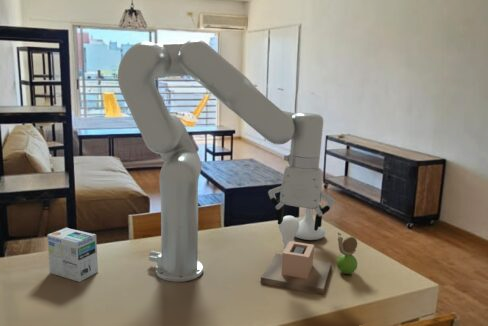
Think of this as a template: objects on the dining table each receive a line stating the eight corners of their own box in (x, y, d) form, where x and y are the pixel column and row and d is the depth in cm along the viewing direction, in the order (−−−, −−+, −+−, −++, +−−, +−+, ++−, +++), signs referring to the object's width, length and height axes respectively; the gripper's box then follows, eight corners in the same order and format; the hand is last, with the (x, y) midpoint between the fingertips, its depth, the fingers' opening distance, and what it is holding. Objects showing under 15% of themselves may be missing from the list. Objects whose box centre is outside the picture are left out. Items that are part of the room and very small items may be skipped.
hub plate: (260, 282, 112) (261, 257, 111) (275, 258, 127) (276, 235, 126) (322, 294, 108) (325, 268, 106) (330, 267, 123) (332, 244, 121)
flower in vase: (331, 237, 145) (337, 163, 140) (311, 246, 137) (317, 168, 132) (299, 226, 154) (304, 157, 149) (279, 234, 146) (283, 161, 141)
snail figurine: (329, 270, 121) (332, 229, 118) (348, 267, 123) (352, 226, 121) (341, 279, 116) (344, 236, 113) (360, 275, 118) (364, 233, 116)
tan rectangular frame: (281, 274, 114) (282, 252, 113) (288, 261, 122) (289, 241, 121) (307, 278, 112) (308, 257, 111) (312, 265, 120) (314, 244, 119)
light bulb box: (98, 272, 115) (97, 233, 113) (79, 283, 109) (77, 242, 107) (68, 263, 119) (66, 226, 117) (48, 273, 113) (46, 234, 111)
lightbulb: (298, 254, 130) (300, 219, 128) (278, 254, 130) (279, 219, 128) (296, 246, 136) (298, 213, 134) (276, 245, 136) (278, 212, 134)
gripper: (267, 160, 110) (262, 224, 114) (337, 169, 105) (329, 236, 109) (274, 155, 117) (269, 216, 121) (340, 163, 112) (333, 226, 116)
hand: (298, 225), depth 115 cm, fingers open, 9 cm apart
